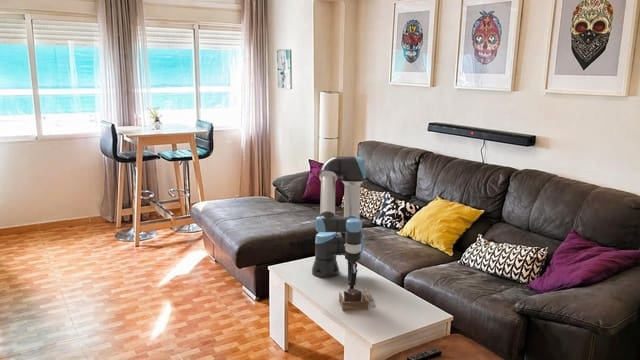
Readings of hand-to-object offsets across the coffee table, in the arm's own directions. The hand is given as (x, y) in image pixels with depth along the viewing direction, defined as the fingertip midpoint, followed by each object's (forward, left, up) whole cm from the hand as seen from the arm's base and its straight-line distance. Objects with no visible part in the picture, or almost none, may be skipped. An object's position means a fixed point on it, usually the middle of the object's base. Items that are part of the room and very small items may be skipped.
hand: (351, 296), depth 251 cm
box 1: (+6, 0, -2) cm, 7 cm away
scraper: (-1, +9, -2) cm, 9 cm away
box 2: (+5, 0, -2) cm, 6 cm away
